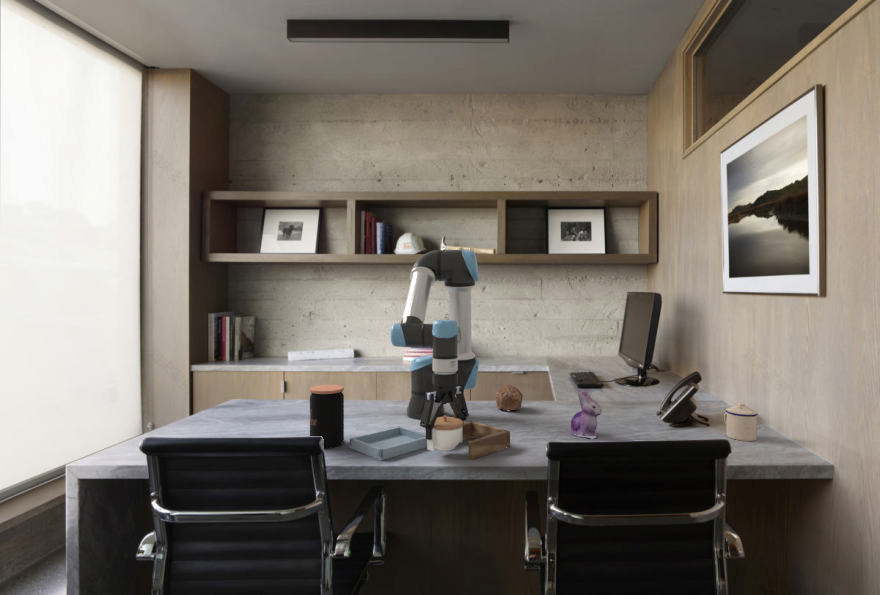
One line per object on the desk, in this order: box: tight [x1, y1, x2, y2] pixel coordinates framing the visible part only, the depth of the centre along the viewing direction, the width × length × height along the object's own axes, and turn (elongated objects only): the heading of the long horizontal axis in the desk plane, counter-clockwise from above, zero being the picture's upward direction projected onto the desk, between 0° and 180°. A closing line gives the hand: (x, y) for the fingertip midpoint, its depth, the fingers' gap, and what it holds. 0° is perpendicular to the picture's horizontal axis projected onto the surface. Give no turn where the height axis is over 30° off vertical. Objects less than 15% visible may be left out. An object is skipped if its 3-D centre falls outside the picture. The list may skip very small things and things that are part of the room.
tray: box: [349, 425, 427, 461], centre depth 156 cm, size 16×20×3 cm
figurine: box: [570, 389, 603, 436], centre depth 169 cm, size 9×10×15 cm
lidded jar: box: [433, 415, 463, 452], centre depth 148 cm, size 11×11×9 cm
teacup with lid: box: [723, 401, 758, 442], centre depth 168 cm, size 12×9×12 cm
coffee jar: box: [309, 384, 345, 449], centre depth 159 cm, size 11×11×18 cm
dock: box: [463, 420, 511, 461], centre depth 156 cm, size 16×18×5 cm
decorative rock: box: [495, 383, 524, 411], centre depth 206 cm, size 13×11×10 cm
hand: (445, 445), depth 148 cm, fingers closed on lidded jar, 11 cm apart
